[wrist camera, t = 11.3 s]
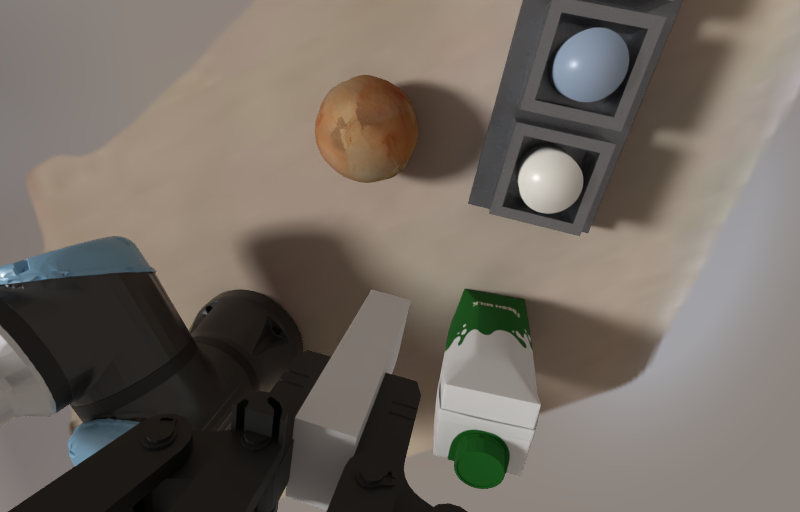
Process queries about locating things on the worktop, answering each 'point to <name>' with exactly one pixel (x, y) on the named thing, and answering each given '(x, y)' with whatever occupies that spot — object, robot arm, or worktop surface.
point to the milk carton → (487, 390)
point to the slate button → (589, 65)
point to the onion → (366, 129)
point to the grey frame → (566, 104)
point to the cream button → (549, 179)
